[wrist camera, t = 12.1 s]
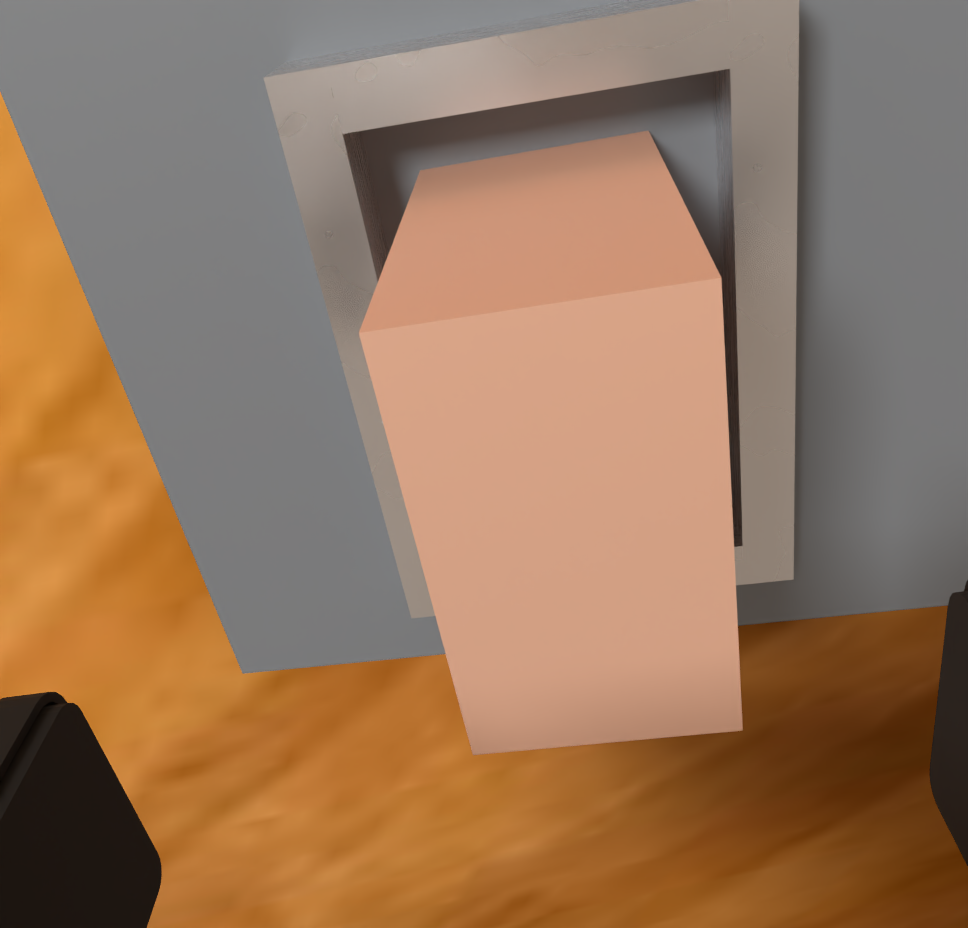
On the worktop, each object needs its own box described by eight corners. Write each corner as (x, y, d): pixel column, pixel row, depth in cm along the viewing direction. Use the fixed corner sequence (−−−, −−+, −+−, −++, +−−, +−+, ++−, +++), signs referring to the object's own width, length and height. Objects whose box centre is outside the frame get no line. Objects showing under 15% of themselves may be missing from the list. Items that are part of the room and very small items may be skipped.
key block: (420, 170, 16) (359, 332, 10) (648, 130, 16) (721, 277, 10) (489, 496, 20) (472, 755, 14) (676, 472, 19) (742, 731, 13)
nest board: (252, 645, 24) (226, 719, 22) (-27, -55, 16) (-115, -46, 13) (985, 572, 22) (1034, 646, 20) (1112, -288, 13) (1222, -320, 11)
